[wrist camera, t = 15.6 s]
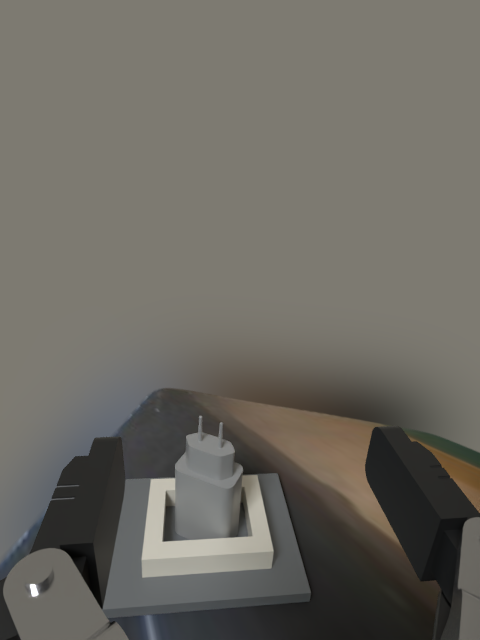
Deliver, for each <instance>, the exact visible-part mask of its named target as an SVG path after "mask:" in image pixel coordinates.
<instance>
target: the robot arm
mask: <svg viewBox="0 0 480 640" xmlns="http://www.w3.org/2000/svg"><path fill="white" fill-rule="evenodd" d="M365 471H366V477H367V480H368V483H369V485H370V487H371V489H372V491H373V493H374V495H375V496H376V498H377V500H378V502H379V504H380V506H381V508H382V510H383V511H384V513H385V515H386V517H387V519H388V521H389V523H390V525H391V527H392V528H393V530H394V532H395V534H396V536H397V538H398V540H399V542H400V544H401V545H402V547H403V549H404V551H405V553H406V555H407V557H408V559H409V561H410V562H411V564H412V566H413V568H414V570H415V572H416V574H417V576H418V578H419V579H420V581H430V580H436V581H437V582H438V584H439V586H440V588H441V589H440V591H439V595H438V601H437V608H436V616H435V623H434V631H433V638H432V640H480V513H479V512H478V511H477V510H476V508H475V507H474V506H473V505H472V503H471V502H470V501H469V499H468V498H467V497H466V496H465V494H464V493H463V492H462V491H461V489H460V488H459V487H458V486H457V484H456V483H455V482H454V480H453V479H452V478H451V479H450V475H449V474H448V473H447V472H446V470H445V469H444V468H442V467H441V464H440V463H439V461H438V460H437V459H436V458H435V456H434V455H433V454H432V453H431V452H430V451H429V450H427V449H426V448H425V447H423V446H422V445H421V444H419V443H418V442H417V441H416V442H411V440H410V439H409V438H408V436H407V435H406V434H405V432H404V431H403V430H402V429H401V428H400V427H399V426H387V427H375V428H374V429H373V431H372V435H371V440H370V445H369V449H368V454H367V459H366V464H365ZM124 492H125V471H124V460H123V449H122V440H121V437H101V438H95V439H94V441H93V444H92V447H91V450H90V453H89V456H76V457H74V459H72V461H71V462H70V463H69V464H68V465H67V466H66V467H65V468H64V469H63V471H62V473H61V476H60V478H59V481H58V484H57V488H56V489H55V491H54V494H53V496H52V501H50V504H49V506H48V509H47V511H46V514H45V516H44V519H43V522H42V524H41V527H40V529H39V532H38V534H37V537H36V539H35V542H34V545H33V547H32V549H31V552H30V554H29V555H28V556H26V557H25V558H23V559H22V560H21V561H19V562H18V563H17V564H16V565H15V566H14V567H13V569H12V570H11V571H10V573H9V574H8V576H7V577H6V578H4V579H3V580H1V581H0V640H129V639H128V638H127V636H126V634H125V633H124V631H123V630H122V628H121V627H120V626H119V625H118V623H116V622H115V621H113V622H112V623H111V622H110V621H109V620H108V619H107V617H106V616H105V614H104V613H103V611H102V609H103V605H104V600H105V595H106V589H107V584H108V579H109V573H110V568H111V563H112V557H113V552H114V547H115V541H116V536H117V531H118V526H119V520H120V515H121V510H122V504H123V499H124Z"/></svg>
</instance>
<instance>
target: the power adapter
mask: <svg viewBox="0 0 480 640" xmlns="http://www.w3.org/2000/svg"><path fill="white" fill-rule="evenodd" d="M234 455H235V450H234V448H233V446H232V444H231V443H230V442H229V441H227V440H224V439H223V423H222V422H220V428H219V438H218V437H215V436H212V435H209V434H206V433H202V416H199V429H198V433H195V434H191V435H188V436H186V452H185V453H184V455H183V456H182V457H181V458H180V459H179V461H178V462H177V463H176V465H175V531H176V533H177V534H179V535H180V536H183V537H185V538H187V539H190V540H200V539H216V538H233V537H236V536H237V534H238V526H239V513H240V500H241V488H242V475H243V467H242V466H241V465H240V464H238V463H236V462H234Z"/></svg>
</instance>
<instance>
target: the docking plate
mask: <svg viewBox="0 0 480 640" xmlns="http://www.w3.org/2000/svg"><path fill="white" fill-rule="evenodd" d="M310 596H311V591H310V587H309V584H308V580H307V577H306V573H305V569H304V566H303V562H302V559H301V555H300V552H299V548H298V544H297V541H296V537H295V534H294V530H293V527H292V523H291V520H290V516H289V512H288V509H287V505H286V502H285V498H284V495H283V491H282V487H281V484H280V480H279V477H278V473H272V474H247V475H242V488H241V500H240V513H239V526H238V534H237V536H236V537H233V538H216V539H200V540H190V539H187V538H185V537H183V536H180V535H179V534H177V533H176V531H175V477H171V478H146V479H126V482H125V492H124V499H123V504H122V510H121V515H120V520H119V526H118V531H117V536H116V541H115V547H114V552H113V557H112V563H111V568H110V573H109V579H108V584H107V589H106V595H105V600H104V605H103V609H102V611H103V613H104V614H105V616H106V617H107V618H116V617H128V616H140V615H152V614H164V613H176V612H188V611H200V610H212V609H224V608H236V607H248V606H260V605H272V604H284V603H296V602H308V601H310Z"/></svg>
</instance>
